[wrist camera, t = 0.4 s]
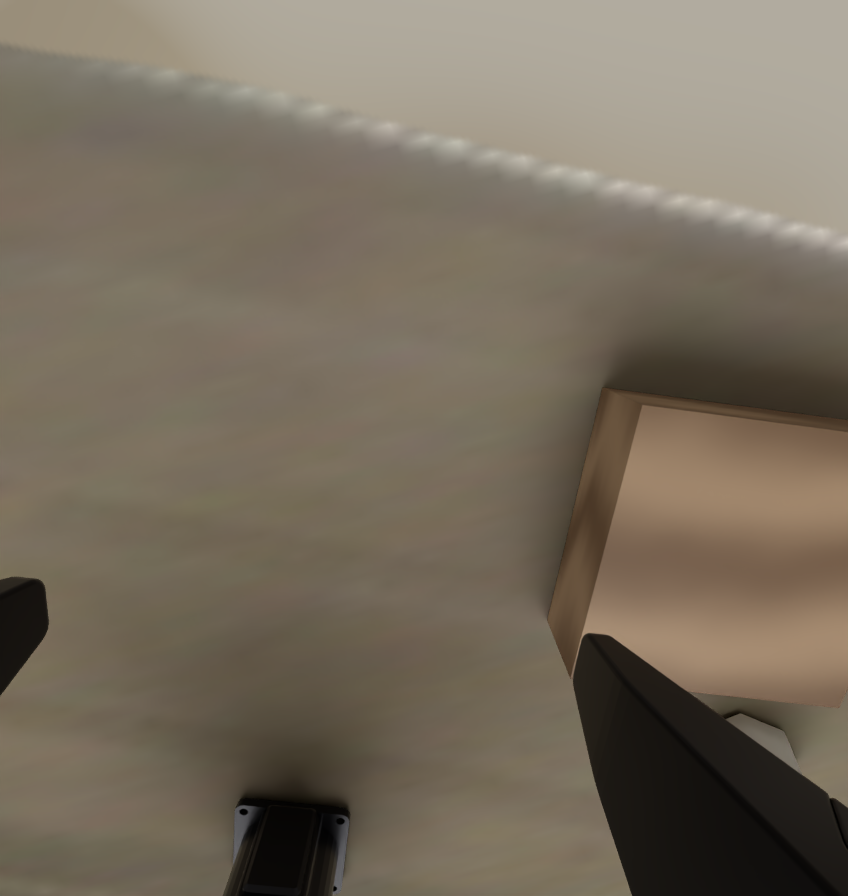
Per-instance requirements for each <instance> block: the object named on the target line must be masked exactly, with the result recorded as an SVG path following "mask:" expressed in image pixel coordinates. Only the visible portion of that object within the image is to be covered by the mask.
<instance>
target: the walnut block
mask: <svg viewBox="0 0 848 896" xmlns="http://www.w3.org/2000/svg"><path fill="white" fill-rule="evenodd" d="M547 621H548V623H549V626H550V628H551V631H552V634H553V636H554V639H555V641H556V644H557V646H558V649H559V651H560V654H561V656H562V659H563V661H564V664H565V666H566V669H567V671H568V674H569V676H570V679H573V674H574V669H575V665H576V660H577V656H578V652H579V648H580V644H581V640H582V638H583V636H584V635H585V634H587V633H595V634H606V635H609V636H611V637H613V638H614V639H616V640H617V641H618V642H620V643H621V644H622V645H624V646H625V647H627V648H628V649H629V650H631V651H632V652H633V653H635V654H636V655H638V656H639V657H640V658H642V659H643V660H644V661H646V662H647V663H649V664H650V665H651V666H653V667H654V668H656V669H657V670H658V671H660V672H661V673H662V674H664V675H665V676H667V677H668V678H669V679H671V680H672V681H673V682H675V683H676V684H678V685H679V686H680V687H682V688H683V689H684V690H686V691H688V692H697V693H706V694H715V695H724V696H733V697H742V698H751V699H760V700H769V701H779V702H788V703H797V704H806V705H815V706H824V707H833V708H839V707H840V705H841V703H842V701H843V698H844V696H845V694H846V692H847V690H848V420H843V419H835V418H828V417H820V416H813V415H805V414H798V413H790V412H783V411H775V410H768V409H760V408H753V407H745V406H738V405H730V404H723V403H715V402H708V401H701V400H693V399H686V398H678V397H671V396H663V395H656V394H648V393H641V392H633V391H626V390H618V389H611V388H602V392H601V396H600V400H599V404H598V409H597V413H596V417H595V421H594V425H593V430H592V434H591V438H590V442H589V447H588V451H587V455H586V459H585V463H584V468H583V472H582V476H581V480H580V484H579V489H578V493H577V497H576V501H575V506H574V510H573V514H572V518H571V522H570V527H569V531H568V535H567V539H566V543H565V548H564V552H563V556H562V560H561V565H560V569H559V573H558V577H557V581H556V586H555V590H554V594H553V598H552V603H551V607H550V611H549V615H548V619H547Z"/></svg>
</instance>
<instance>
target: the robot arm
mask: <svg viewBox="0 0 848 896" xmlns="http://www.w3.org/2000/svg"><path fill="white" fill-rule="evenodd" d="M48 625H49V619H48V609H47V600H46V591H45V585H44V584H43V582H42V581H40V580H39V579H34V578H24V577H9V578H6V579H2V580H0V695H1V694H2V693H3V691H4V690H5V689H6V687H7V686H8V685H9V684H10V682H11V681H12V680H13V678H14V677H15V676H16V674H17V673H18V672H19V670H20V669H21V668H22V666H23V665H24V664H25V662H26V661H27V660H28V658H29V657H30V656H31V654H32V653H33V652H34V650H35V649H36V648H37V647H38V645H39V644H40V643H41V641H42V640H43V638H44V637H45V635H46V632H47V630H48ZM573 686H574V691H575V696H576V700H577V705H578V709H579V714H580V718H581V723H582V727H583V732H584V736H585V741H586V745H587V750H588V754H589V759H590V763H591V767H592V771H593V775H594V780H595V783H596V786H597V790H598V793H599V796H600V800H601V803H602V806H603V809H604V812H605V815H606V818H607V821H608V824H609V827H610V830H611V833H612V836H613V839H614V842H615V845H616V848H617V851H618V854H619V857H620V860H621V863H622V866H623V869H624V872H625V875H626V878H627V881H628V885H629V888H630V891H631V894H632V896H848V808H847V807H846V806H845V805H843V804H842V803H841V802H839V801H838V800H836V799H835V798H829V796H828V794H827V793H826V792H825V791H824V790H822V789H821V788H820V787H818V786H817V785H816V784H814V783H813V782H811V781H810V780H809V779H807V778H806V777H805V776H803V775H802V774H800V773H799V772H798V771H796V770H795V769H793V768H792V767H791V766H789V765H788V764H787V763H785V762H784V761H782V760H781V759H780V758H778V757H777V756H776V755H774V754H773V753H771V752H770V751H769V750H767V749H766V748H765V747H763V746H762V745H760V744H759V743H758V742H756V741H755V740H753V739H752V738H751V737H749V736H748V735H747V734H745V733H744V732H742V731H741V730H740V729H738V728H737V727H736V726H734V725H733V724H731V723H730V722H729V721H727V720H726V719H724V718H723V717H722V716H720V715H719V714H718V713H716V712H715V711H713V710H712V709H711V708H709V707H708V706H707V705H705V704H704V703H702V702H701V701H700V700H698V699H697V698H696V697H694V696H693V695H691V694H690V693H689V692H687V691H686V690H684V689H683V688H682V687H680V686H679V685H678V684H676V683H675V682H673V681H672V680H671V679H669V678H668V677H667V676H665V675H664V674H662V673H661V672H660V671H658V670H657V669H656V668H654V667H653V666H651V665H650V664H649V663H647V662H646V661H644V660H643V659H642V658H640V657H639V656H638V655H636V654H635V653H633V652H632V651H631V650H629V649H628V648H627V647H625V646H624V645H622V644H621V643H620V642H618V641H617V640H616V639H614V638H613V637H611V636H609V635H606V634H595V633H587V634H585V635H584V636H583V638H582V640H581V644H580V648H579V652H578V656H577V660H576V665H575V669H574V674H573ZM349 821H350V812H349V811H348V810H347V809H345V808H339V807H328V806H318V805H308V804H298V803H287V802H277V801H267V800H257V799H247V798H246V799H241V800H239V801H238V804H237V806H236V809H235V823H234V857H233V868H232V871H231V873H230V876H229V879H228V882H227V885H226V888H225V891H224V894H223V896H332V894H337V893H339V892H340V891H341V887H342V880H343V872H344V863H345V855H346V847H347V838H348V830H349Z"/></svg>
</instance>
